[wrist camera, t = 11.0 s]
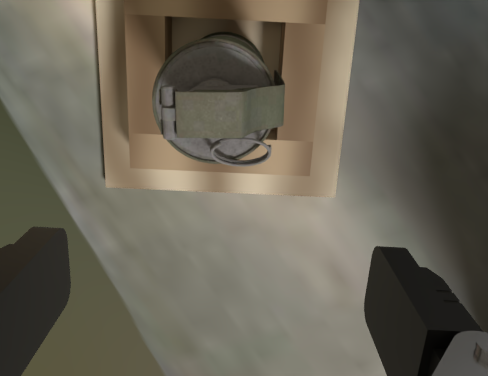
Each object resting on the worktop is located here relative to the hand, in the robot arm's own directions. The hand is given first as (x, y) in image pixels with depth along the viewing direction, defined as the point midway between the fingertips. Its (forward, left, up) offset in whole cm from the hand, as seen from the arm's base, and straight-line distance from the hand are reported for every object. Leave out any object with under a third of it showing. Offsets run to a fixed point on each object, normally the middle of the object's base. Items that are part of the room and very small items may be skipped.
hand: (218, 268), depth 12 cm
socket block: (+1, -2, -24) cm, 24 cm away
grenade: (+1, -2, -24) cm, 24 cm away
